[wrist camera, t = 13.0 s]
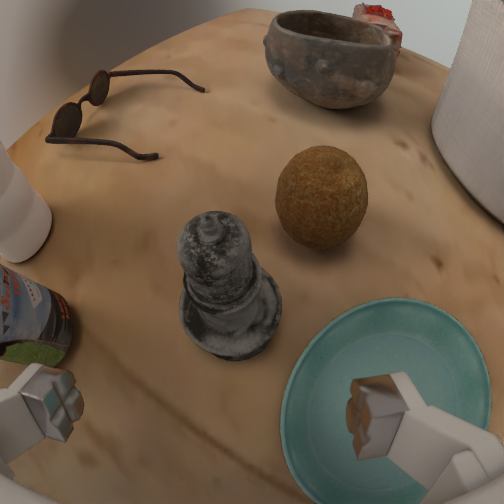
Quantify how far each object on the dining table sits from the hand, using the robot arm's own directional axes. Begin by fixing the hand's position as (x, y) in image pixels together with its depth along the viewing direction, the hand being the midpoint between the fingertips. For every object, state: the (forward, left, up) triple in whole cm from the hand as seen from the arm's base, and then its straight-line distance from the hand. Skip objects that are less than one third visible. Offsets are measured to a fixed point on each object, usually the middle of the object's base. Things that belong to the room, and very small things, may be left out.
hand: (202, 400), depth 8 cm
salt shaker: (0, +6, -12) cm, 13 cm away
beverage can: (-15, +4, -12) cm, 19 cm away
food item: (+21, +48, -12) cm, 53 cm away
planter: (+32, +22, -12) cm, 40 cm away
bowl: (+10, +33, -12) cm, 36 cm away
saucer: (+10, -1, -12) cm, 15 cm away
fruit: (+6, +13, -12) cm, 18 cm away
